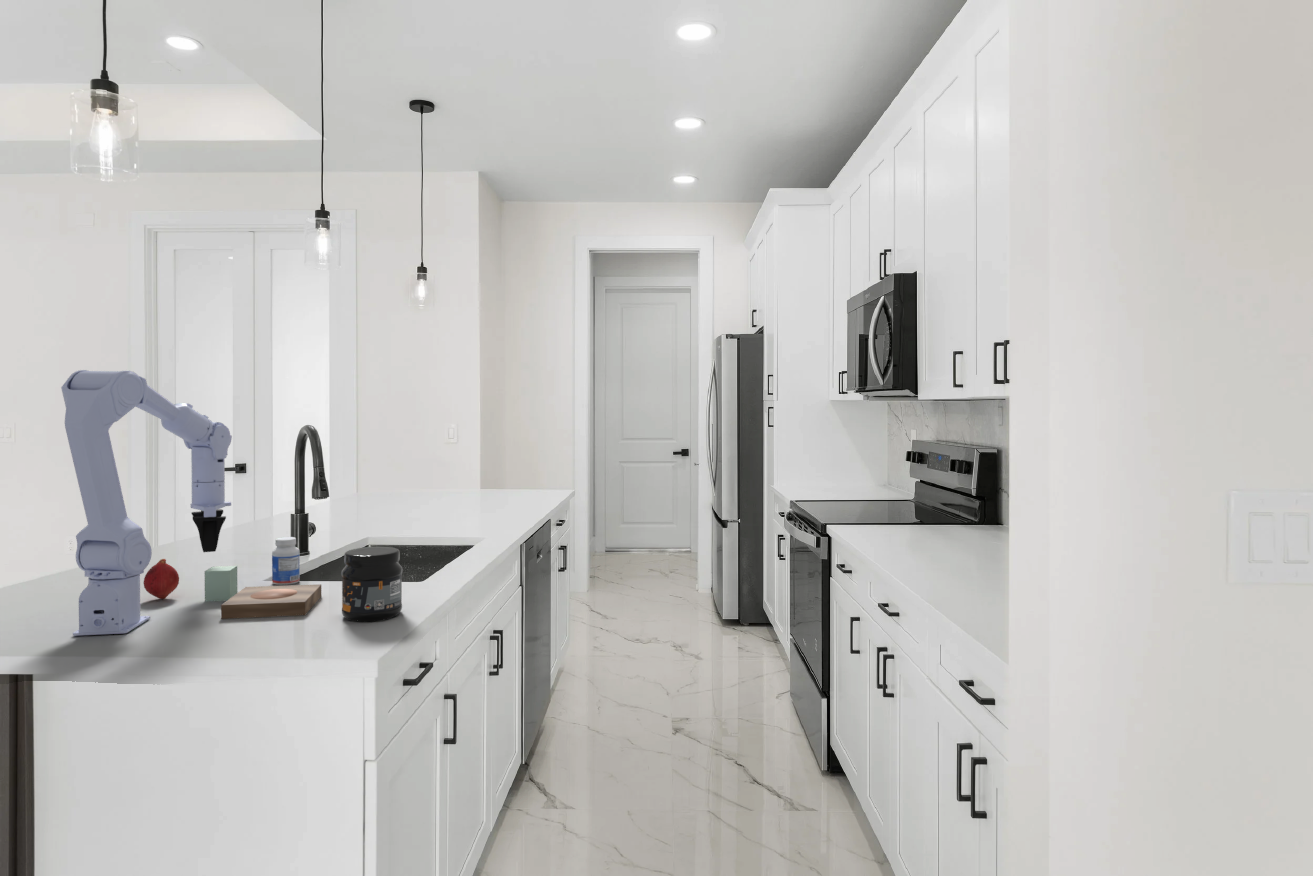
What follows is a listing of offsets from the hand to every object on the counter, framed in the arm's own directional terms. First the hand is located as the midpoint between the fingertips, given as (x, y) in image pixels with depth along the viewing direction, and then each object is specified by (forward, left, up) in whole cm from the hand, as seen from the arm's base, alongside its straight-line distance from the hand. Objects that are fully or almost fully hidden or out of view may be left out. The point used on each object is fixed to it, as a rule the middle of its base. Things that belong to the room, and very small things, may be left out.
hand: (208, 548), depth 151 cm
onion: (-2, +8, -10) cm, 13 cm away
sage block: (-3, -3, -10) cm, 10 cm away
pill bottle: (+9, -12, -10) cm, 18 cm away
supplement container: (-21, -34, -10) cm, 41 cm away
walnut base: (-12, -15, -10) cm, 21 cm away
